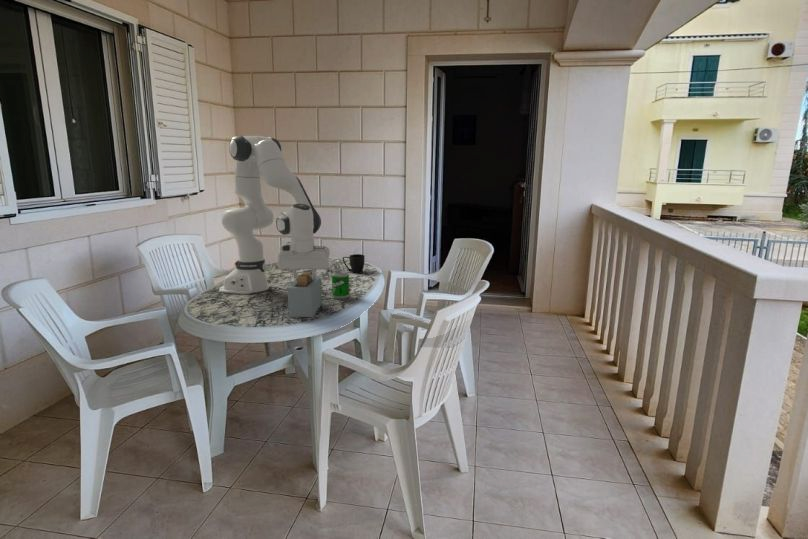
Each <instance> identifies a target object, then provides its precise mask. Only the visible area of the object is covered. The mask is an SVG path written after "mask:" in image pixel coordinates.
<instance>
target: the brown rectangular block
mask: <svg viewBox="0 0 808 539" xmlns="http://www.w3.org/2000/svg"><path fill="white" fill-rule="evenodd" d="M312 274H313V272H312V271H303V272H302V273H301V274H299V275H300V276H299V277H298V278H297V287H307V286H308V285H309V284H310V283H311V282H312V280H310V279H309V276H310V275H312Z"/></svg>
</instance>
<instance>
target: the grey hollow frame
mask: <svg viewBox="0 0 808 539" xmlns="http://www.w3.org/2000/svg"><path fill="white" fill-rule="evenodd" d="M322 300H323V298H322V277H321V276H314V280H312V282H311V283H310V284H309V285H308V286H307V287H297V280H295V279H294V281H293V282H292V283H291V284H289V285H288V287H287V301H288V302H287V304H288V318H289V317H312V318H313V317H314V316H315V314H316V313H317V312H318V310H319V309H320V307H321V306H322V303H323V302H322ZM320 305H321V306H320ZM318 308H319V309H318ZM316 311H317V312H316ZM313 315H314V316H313Z"/></svg>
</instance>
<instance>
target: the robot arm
mask: <svg viewBox="0 0 808 539" xmlns="http://www.w3.org/2000/svg"><path fill="white" fill-rule="evenodd" d="M228 148H229V149H228V150H229V153H230V157H232V159H234V160H235V162H234V192H235V194H236V196H237V197H238V198H241V200H242V201H243V203H244V207H234V208H231V209H228V210H226V211H224V212H223V214H222V216H221V224H222V226H223V228H224V229H225V231H227V232H229V233H230V234H231V235H232V237H233V238H234V240H235V242H236V245H237V253H238V260H236V262H235V263H234V266H235V268H234V269H233V270H232V271H230V272H229V274H227V275H226V276H225V278H224V280H223V285H222V286H220V287H219V289H218V291H219V293H227V294H240V295H249V294H253V293H260V292H264V291H266V290H268V289H270V286H269V282H268V279H267V278H268V277H267V275H266V266H267V264H266V261H265V260H266V259H265V256H264V244H263V242H262V241H261V240H259V238H256V237H255V233H254V231H257V230H263V229H265V228H267V227H268V228H269V227H271V225H272V224H273V223H274V219H275V218H274V213H273V211H272V210H271V208H270V207H268V206H267V205H266V203H265V201H264V198H263V196H262V187H261V179H262V180H263V181H264V182H265V184H267V185H269V186H270V187H273V188H276V189H278V190H282V191H285V192H287V193H289V194H290V195H292V197H293V199H294V201H295V202H296V203H295V204H292V205H291V206H290V208H289V209H288V210H285V211H283V212H280V213H279V214H278V215H277V217H276V219H275V224H276V229H277V231H278V232H279V233H280V234H281V235H282V236H291V238H290V239H291V240H290V241H288V242H285V243H283V244H281V245H280V246H279V251H280V252H279V253H278V256H277V267H278V268H279V269H280V270H284V269H285V270H289V269H290V270H291V272H292V274H293V276H294V281H295V280H297V278H298V277H299V276H300V275H301V274H298V272H297V271H298V270H311V272H312V275H310V276H309V279H310V280H314V277H315V274H316V272H317V270H328V269H329V268H330V266H331V265H330V264H331V263H330V258H329V256H330V248H328V247H327V246H325V245H315V236H314V234H317V232H318V231H319V229H320V227H321V226H322V219H321V216H320V214H319V212H317V209H316V208H315V207H314V206H313V204H312V201H311V199H310V198H309V196H308V193H307V191H306V189H305V187H304V186H303V184H302V182H301V180H300V179H299V177H298V176H297V175H295V174H293V172H292V171H291V170H290V168H289V167H288V165H287V164H286V163H287V162H286V161H285V158H284V155H283V153H282V145H281V143H280V141H279V140H278V139H277V138H275V137H270V136H262V135H234V136H233V137H232V138H231V139H230V141H229V144H228Z"/></svg>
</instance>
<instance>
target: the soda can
mask: <svg viewBox="0 0 808 539" xmlns="http://www.w3.org/2000/svg"><path fill="white" fill-rule="evenodd" d="M349 276H350V275H349V272H348V271H347V270H344V269H339V270H338V269H337V270H334V271H333V272H332V273H331V290H332V291H331V294H332V295H331V296H332V297H333V298H334V299H335V298H336V299H335V300H345V299H348V298H349V296H350V290H349V288H350V277H349Z"/></svg>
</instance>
